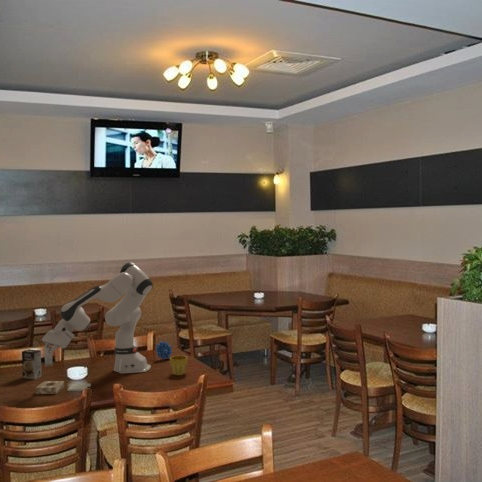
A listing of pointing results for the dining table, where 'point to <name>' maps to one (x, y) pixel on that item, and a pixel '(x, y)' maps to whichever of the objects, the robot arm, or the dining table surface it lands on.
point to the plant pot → (178, 364)
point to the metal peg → (48, 357)
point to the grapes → (163, 350)
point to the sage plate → (78, 387)
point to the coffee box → (31, 364)
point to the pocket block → (50, 387)
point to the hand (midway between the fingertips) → (47, 351)
